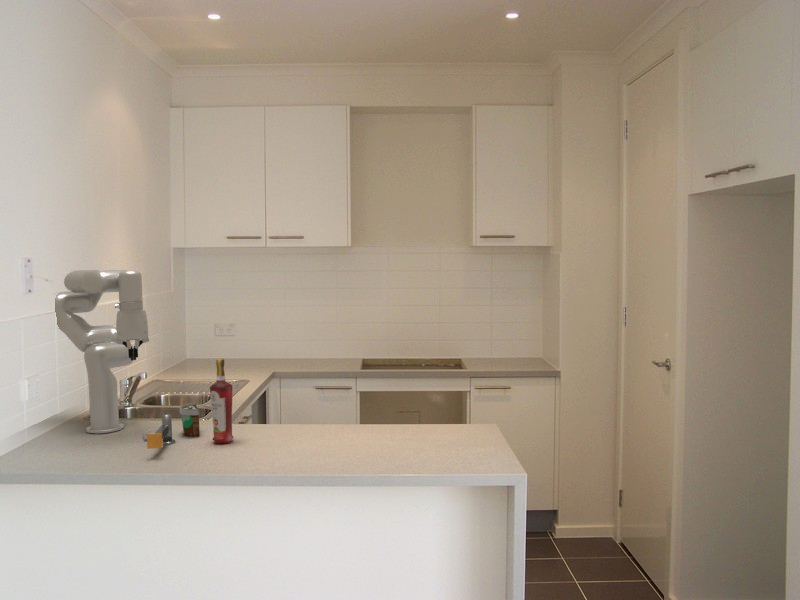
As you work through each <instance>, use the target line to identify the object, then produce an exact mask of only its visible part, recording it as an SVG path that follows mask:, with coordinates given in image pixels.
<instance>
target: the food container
mask: <svg viewBox="0 0 800 600" xmlns="http://www.w3.org/2000/svg"><path fill="white" fill-rule="evenodd" d="M179 415H181V422H182V423H181V424H182V429H183V430H182V432H183V436H184V437H186V438H199V437H200V435H201V434H200V409H199V408H198V406H197V403H196V402H190V403H185V404H182V405H181V406H180V408H179Z"/></svg>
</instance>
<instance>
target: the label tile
mask: <svg viewBox="0 0 800 600" xmlns="http://www.w3.org/2000/svg"><path fill="white" fill-rule="evenodd" d="M152 433H153V432H151V433H149V432H148V433H143V434H142V439H143V441H144V442H145V443H147V434H152Z"/></svg>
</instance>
